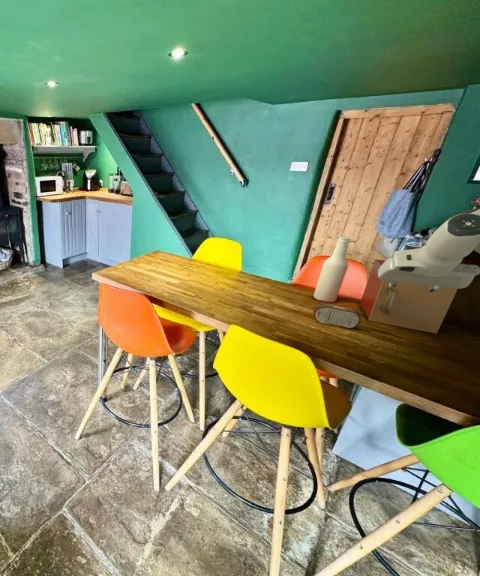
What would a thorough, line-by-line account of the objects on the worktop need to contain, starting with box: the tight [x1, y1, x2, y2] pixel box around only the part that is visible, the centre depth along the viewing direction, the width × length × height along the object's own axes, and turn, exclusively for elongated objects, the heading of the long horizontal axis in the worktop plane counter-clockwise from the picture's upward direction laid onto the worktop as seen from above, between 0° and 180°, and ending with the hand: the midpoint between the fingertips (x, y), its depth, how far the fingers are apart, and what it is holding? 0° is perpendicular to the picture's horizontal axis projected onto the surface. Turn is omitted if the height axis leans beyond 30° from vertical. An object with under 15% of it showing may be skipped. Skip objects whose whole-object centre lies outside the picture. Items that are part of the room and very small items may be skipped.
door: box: [367, 280, 459, 334], centre depth 112 cm, size 6×20×22 cm, turn 61°
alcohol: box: [313, 236, 351, 303], centre depth 137 cm, size 9×9×30 cm
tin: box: [312, 302, 362, 329], centre depth 118 cm, size 15×3×8 cm, turn 59°
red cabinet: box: [359, 259, 387, 320], centre depth 121 cm, size 16×20×22 cm
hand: (410, 288), depth 99 cm, fingers open, 8 cm apart
